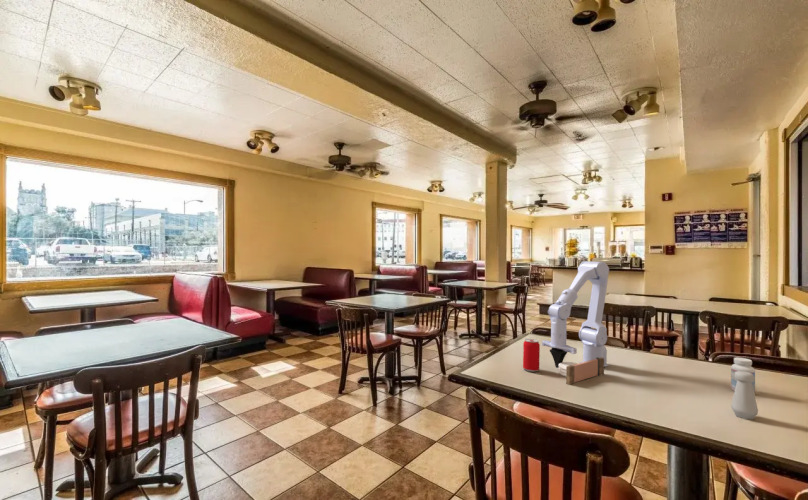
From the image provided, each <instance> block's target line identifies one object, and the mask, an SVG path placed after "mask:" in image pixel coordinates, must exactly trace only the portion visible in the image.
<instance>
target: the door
mask: <svg viewBox="0 0 808 500" xmlns="http://www.w3.org/2000/svg"><path fill="white" fill-rule="evenodd" d="M581 362H582V363H580V362H577V363H578V364H575V365H573V366H575V373H574V383H577V382H580V381H583V380H586V379H590V378H593V377H597V375H598V360H597V359H593V360H590V361H586V362H583V361H581Z"/></svg>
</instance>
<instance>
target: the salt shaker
mask: <svg viewBox="0 0 808 500" xmlns="http://www.w3.org/2000/svg"><path fill="white" fill-rule="evenodd" d="M735 379H737V384H736V388H735V391H734V393H733V395H732V396H733V397H732V401H731V403H730V407H731V410H732V411H733V412H734V414H735V416H736V417H737V418H740V419H743V420H750V421H753V420H754V419H755V418H756V416H758V413H759V409H758V403H757V400H756V399H757V398H756V395H755V394H756V393H755V394H754V390H753V385H752V382H754V381H755V382H756V376H755V377H754V375H753V374H751V373H749V372H744V371H737V372H735Z"/></svg>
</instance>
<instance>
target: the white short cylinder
mask: <svg viewBox="0 0 808 500" xmlns="http://www.w3.org/2000/svg"><path fill="white" fill-rule="evenodd" d="M578 363H579V362H577V363H576V362H573V361H572V362H570V361H563V362H562V363H560V364H559V365H558V366H559V368H557V369H558V373H559V375H561V376H563V377H565V378H566V369H567V366H570V365H575V364H578Z"/></svg>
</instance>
